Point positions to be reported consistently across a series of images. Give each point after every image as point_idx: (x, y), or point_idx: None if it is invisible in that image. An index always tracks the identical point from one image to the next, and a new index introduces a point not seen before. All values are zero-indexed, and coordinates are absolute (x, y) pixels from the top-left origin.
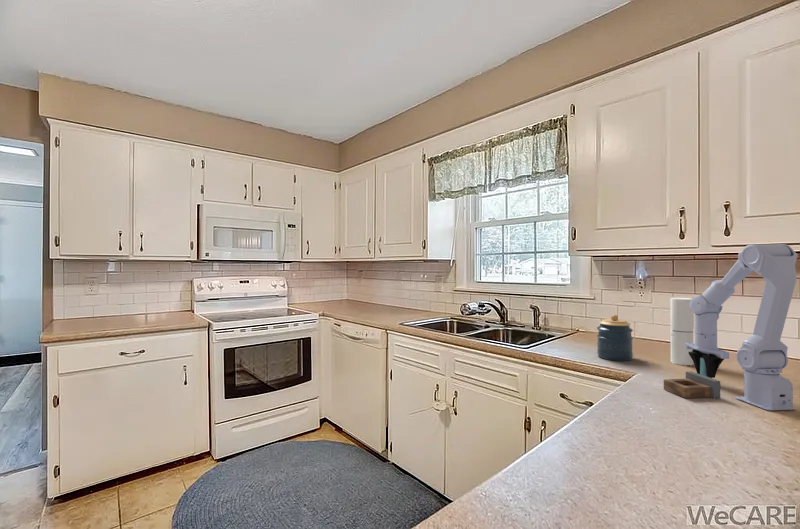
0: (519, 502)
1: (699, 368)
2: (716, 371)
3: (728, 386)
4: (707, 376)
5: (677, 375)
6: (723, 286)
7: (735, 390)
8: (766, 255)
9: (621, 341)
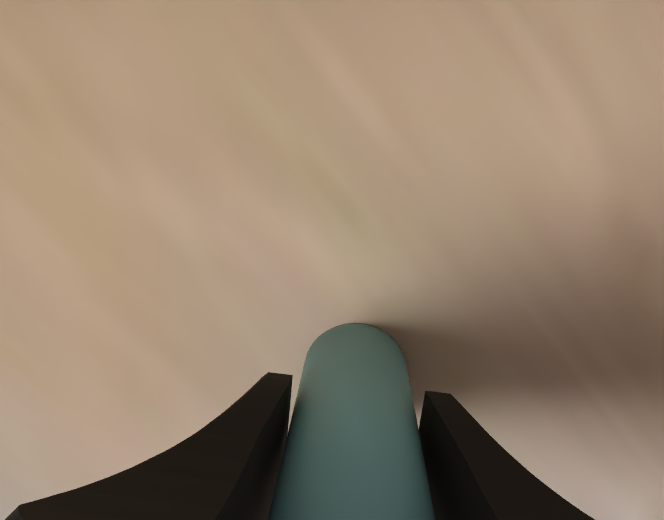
0: None
1: (270, 488)
2: (488, 440)
3: (507, 244)
4: None
5: (62, 402)
6: None
7: (632, 306)
8: None
9: None
